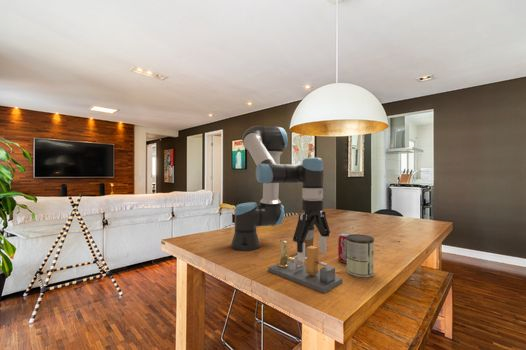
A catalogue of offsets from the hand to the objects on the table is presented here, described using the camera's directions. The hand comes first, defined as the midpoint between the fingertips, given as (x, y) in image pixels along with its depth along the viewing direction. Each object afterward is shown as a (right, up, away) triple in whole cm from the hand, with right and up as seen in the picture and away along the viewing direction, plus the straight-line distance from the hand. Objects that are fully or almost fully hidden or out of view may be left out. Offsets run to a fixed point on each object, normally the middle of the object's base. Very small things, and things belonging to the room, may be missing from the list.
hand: (312, 256), depth 93 cm
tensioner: (+4, -7, -4) cm, 9 cm away
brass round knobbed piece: (-9, -7, +9) cm, 14 cm away
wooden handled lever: (0, -6, 0) cm, 6 cm away
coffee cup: (+2, -9, +29) cm, 31 cm away
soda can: (+19, -9, +21) cm, 30 cm away
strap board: (-3, -9, +3) cm, 10 cm away
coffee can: (+21, -9, +8) cm, 24 cm away
